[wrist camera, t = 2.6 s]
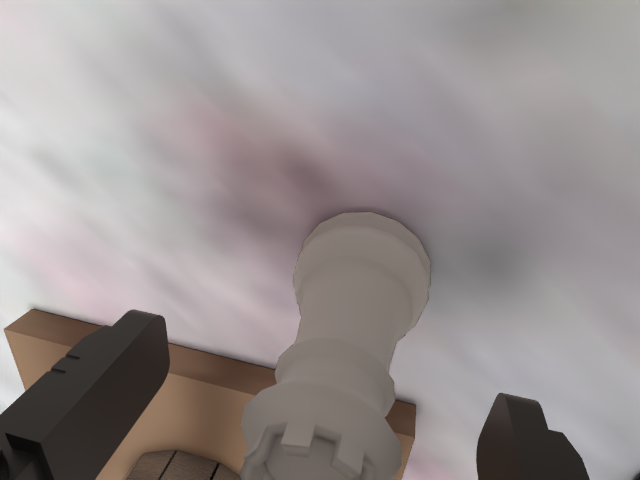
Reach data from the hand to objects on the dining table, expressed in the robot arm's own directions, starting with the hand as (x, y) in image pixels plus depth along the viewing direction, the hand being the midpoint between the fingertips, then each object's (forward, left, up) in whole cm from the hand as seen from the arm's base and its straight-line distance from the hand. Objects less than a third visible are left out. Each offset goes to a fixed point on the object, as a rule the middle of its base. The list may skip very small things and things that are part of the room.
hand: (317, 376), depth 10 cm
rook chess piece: (0, 0, -5) cm, 5 cm away
